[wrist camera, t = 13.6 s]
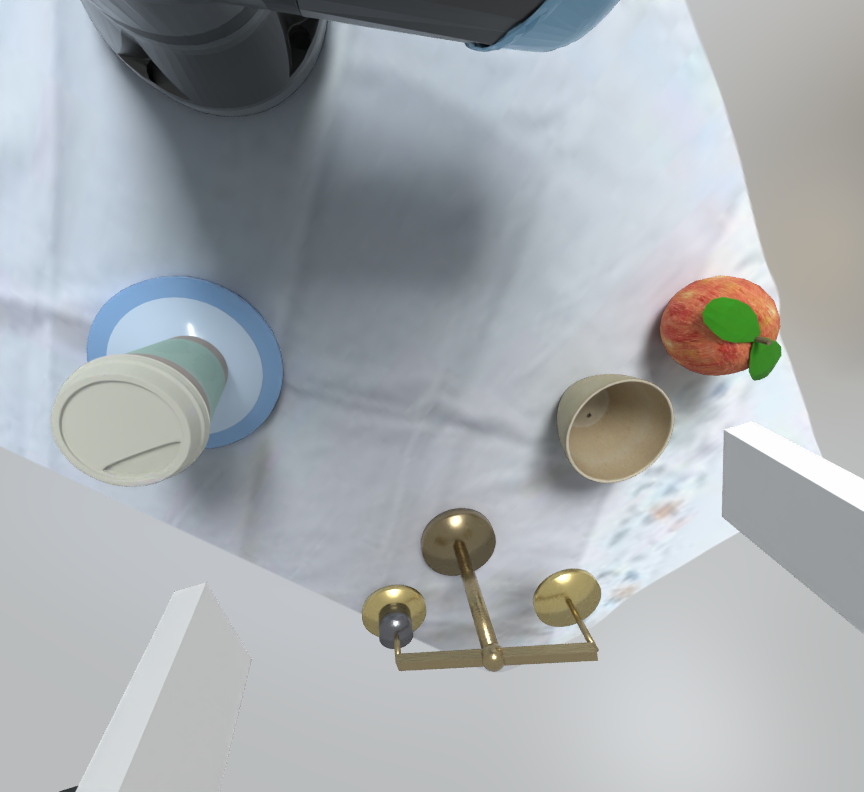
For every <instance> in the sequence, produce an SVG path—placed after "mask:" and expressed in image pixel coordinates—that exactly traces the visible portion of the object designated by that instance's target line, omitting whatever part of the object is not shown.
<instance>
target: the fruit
mask: <svg viewBox="0 0 864 792" xmlns="http://www.w3.org/2000/svg"><path fill="white" fill-rule="evenodd" d="M779 329H780V317H779V314H778V311H777V308H776V305H775V302H774V300H773V299H772V298H771V297H770V296H769V295H768V294H767V293H766V292H765V291H764V290H763V289H762V288H761V287H760V286H759V285H756V284H754V283H752V282H750V281H748V280H745V279H741V278H736V277H730V276H715V277H711V278H707V279H702V280H698V281H695V282H693V283H691V284H689V285H688V286H686V287H685V288H683V289H682V290H680V291H679V292H677V293H676V294H675V296H674V297H673V298H672V299H671V300H670V301H669V303H668V305H667V307H666V309H665V310H664V312H663V314H662V319H661V325H660V333H661V338H662V342H663V344H664V346H665V348H666V350H667V353H668V354H669V355H670V356H671V357H672V358H673V359H674V360H675V361H676V362H677V363H678V364H680V365H682V366H683V367H685V368H687V369H688V370H690V371H693V372H697V373H700V374H703V375H715V376H718V375H727V374H732V373H736V372H740V371H744V370H746V369H748V368H749V373H750V375H751V377H752V379H753V380H760V379H763V378H765V377H767V376H768V374H769V373H770V372H771V371H772V370H773V368H774V367H775V365H776V363H777V362H778V360H779V358H780V357H781V346H780V345H779V344H778V343H777V342H776V339H777V336H778V332H779Z"/></svg>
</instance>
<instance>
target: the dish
mask: <svg viewBox="0 0 864 792" xmlns="http://www.w3.org/2000/svg"><path fill="white" fill-rule="evenodd" d="M177 336H194V337H198V338H201V339H204V340H206V341H208V342H209V343H211V344H212V345H214V346H215V347H216V348H217V349H218V350H219V351H220V352H221V354H222V355H223V357H224V359H225V361H226V364H227V367H228V379H227V382H226V385H225V388H224V390H223V393H222V395H221V398H220V400H219V403H218V405H217V407H216V410H215V412H214V415H213V417H212V420H211V422H210V434H209V439H208V442H207V444H206V447H205V449H209V448H216V447H221V446H225V445H228V444H231V443H234V442H236V441H238V440H240V439H242V438H244V437H246V436H247V435H249V434H250V433H252V432H253V431H255V430H256V429H257V428H258V427H259V426H260V425H261V424H262V423H263V422H264V421H265V420H266V418H267V417H268V416H269V414H270V413H271V411H272V410H273V408H274V406H275V403H276V401H277V399H278V397H279V394H280V390H281V387H282V380H283V362H282V357H281V352H280V349H279V346H278V343H277V340H276V338H275V336H274V334H273V332H272V330H271V329H270V327H269V326H268V324H267V322H266V321H265V320H264V319H263V317H262V316H261V315H260V314H259V313H258V312H257V311H256V310H255V309H254V308H253V307H252V306H251V305H250V304H249V303H248V302H246V301H245V300H244V299H243V298H241V297H240V296H238V295H237V294H235V293H233V292H232V291H230V290H228V289H226V288H224V287H222V286H220V285H218V284H215V283H212V282H209V281H206V280H203V279H198V278H192V277H184V276H167V277H159V278H154V279H149V280H146V281H143V282H140V283H137V284H134V285H131V286H129V287H128V288H126V289H124V290H122V291H120V292H119V293H117V294H116V295H115V296H113V297H112V298H111V299H110V300H109V301H108V302H107V303H106V304H105V305H104V306H103V307H102V308H101V310H100V311H99V313H98V314H97V315H96V317H95V320H94V322H93V324H92V326H91V329H90V332H89V336H88V342H87V362H89V361H91V360H94V359H96V358H100V357H103V356H108V355H115V354H125V353H128V352H131V351H134V350H137V349H140V348H143V347H146V346H149V345H152V344H155V343H158V342H161V341H164V340H167V339H170V338H173V337H177Z"/></svg>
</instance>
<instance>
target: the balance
mask: <svg viewBox="0 0 864 792" xmlns="http://www.w3.org/2000/svg"><path fill="white" fill-rule="evenodd" d="M495 544H496V539H495V534H494V531H493V529H492V526H491V524H490V522H489V521H488V519H487V518H486V517H485V516H484V515H482V514H481V513H479V512H477V511H475V510H471V509H465V508H458V509H452V510H448V511H446V512H443V513H441V514H439V515H438V516H436V517H435V518H434V519H432V520H431V521H430V522H429V524H428V525H427V526H426V528H425V530H424V532H423V534H422V539H421V546H422V551H423V556H424V559H425V561H426V563H427V564H428V565H429V566H430V567H431V568H432V569H433V570H435V571H436V572H438V573H441V574H444V575H451V576H458V575H461V577H462V581H463V584H464V588H465V591H466V595H467V599H468V602H469V606H470V609H471V613H472V616H473V620H474V623H475V627H476V630H477V634H478V637H479V641H480V645H481V648H482V649H471V650H455V651H438V652H421V653H404V654H401V649H400V648H402V647H404V646H406V645H407V644H409V643H410V642H411V640H412V638H413V631H415V630H416V629H417V628H418V627H419V626H420V625H421V624H422V622H423V621H424V619H425V616H426V605H425V601H424V598H423V596H422V595H421V594H420V593H419V592H418V591H417V590H415V589H414V588H411V587H409V586H404V585H391V586H386V587H383V588H381V589H379V590H377V591H375V592H374V593H372V594H371V595H370V596H369V597H368V598H367V600H366V601H365V603H364V605H363V609H362V620H363V624H364V626H365V627H366V629H367V630H368V631H369V632H371V633H372V634H374V635H376V636H378V637H379V638H380V642H381V644H382V645H383V646H385V647H387V648H390V649H395V658H396V664H397V667H398V669H399V671H405V670H423V669H424V670H425V669H444V668H464V667H483V666H484V667H485V668H486V669H487V670H489V671H493V672H495V671H499V670H500V669H502V667H503V666H504V665H521V664H540V663H559V662H577V661H578V662H579V661H597V660H598V658H597V652H598V648H597V646H596V644H595V642H594V640H593V639H592V637H591V635H590V633H589V631H588V630H587V628H586V626H585V624H584V622H583V620H584V619H585V618H587V617H588V616H589V615H590V614H591V613H592V612H593V611H594V610H595V609H596V607H597V606H598V604H599V601H600V598H601V589H600V586H599V584H598V582H597V581H596V579H595V578H594V577H593V575H592V574H590V573H589V572H587V571H585V570H581V569H566V570H562V571H559V572H556V573H554V574H552V575H551V576H549V577H548V578H546V579H545V580H544V581H543V582H542V583H541V584H540V585H539V586H538V588H537V590H536V591H535V594H534V597H533V606H534V609H535V612H536V614H537V616H538V617H539V619H540V620H541V621H542V622H544V623H545V624H547V625H550V626H555V627H564V626H570V625H573V624H576V623H577V624H578V626H579V628H580V630H581V631H582V633H583V635H584V637H585V639H586V641H587V643H572V644H555V645H538V646H521V647H505V648H502V647H501V646H500V645H498V642H497V639H496V636H495V633H494V630H493V627H492V624H491V621H490V618H489V615H488V612H487V608H486V605H485V602H484V599H483V596H482V593H481V590H480V587H479V584H478V581H477V578H476V575H475V570H477V569H478V568H480V567H481V566H483V565H484V564H485V563H486V562H487V561H488V560H489V558H490V557H491V555H492V553H493V551H494V548H495Z"/></svg>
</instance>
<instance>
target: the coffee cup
mask: <svg viewBox="0 0 864 792" xmlns="http://www.w3.org/2000/svg"><path fill="white" fill-rule="evenodd" d="M227 379H228V367H227V364H226V361H225V359H224V357H223V355H222V354H221V352H220V351H219V350H218V349H217V348H216V347H215V346H214V345H212V344H211V343H209V342H208V341H206V340H204V339H201V338H198V337H194V336H177V337H173V338H170V339H167V340H164V341H161V342H158V343H155V344H152V345H149V346H146V347H143V348H140V349H137V350H134V351H131V352H128V353H125V354H115V355H108V356H103V357H100V358H96V359H94V360H91V361H89V362H87V363H86V364H84V365H82V366H81V367H79V368H78V369H77V370H76V371H75V372H74V373H73V374H72V375H71V376H70V377H69V378H68V379H67V380H66V381H65V383H64V384H63V386H62V387H61V389H60V391H59V393H58V396H57V399H56V402H55V404H54V406H53V409H52V414H51V428H52V433H53V437H54V439H55V442H56V444H57V446H58V447H59V449H60V451H61V452H62V454H63V455H64V456H65V457H66V458H67V459H68V460H69V461H70V462H71V463H72V464H73V465H74V466H75V467H76V468H78V469H79V470H80V471H82V472H83V473H85V474H87V475H88V476H90V477H92V478H95V479H97V480H99V481H102V482H105V483H108V484H112V485H118V486H126V487H137V486H146V485H150V484H154V483H157V482H160V481H162V480H164V479H167V478H170V477H172V476H174V475H176V474H178V473H180V472H182V471H183V470H185V469H186V468H187V467H188V466H190V465H191V464H192V463H193V462H194V461H195V460H196V459H197V458H198V457H199V456H200V455H201V453H202V452H203V450H204V449H205V447H206V444H207V442H208V439H209V434H210V422H211V420H212V417H213V415H214V412H215V410H216V407H217V405H218V403H219V400H220V398H221V395H222V393H223V390H224V388H225V385H226V382H227Z"/></svg>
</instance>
